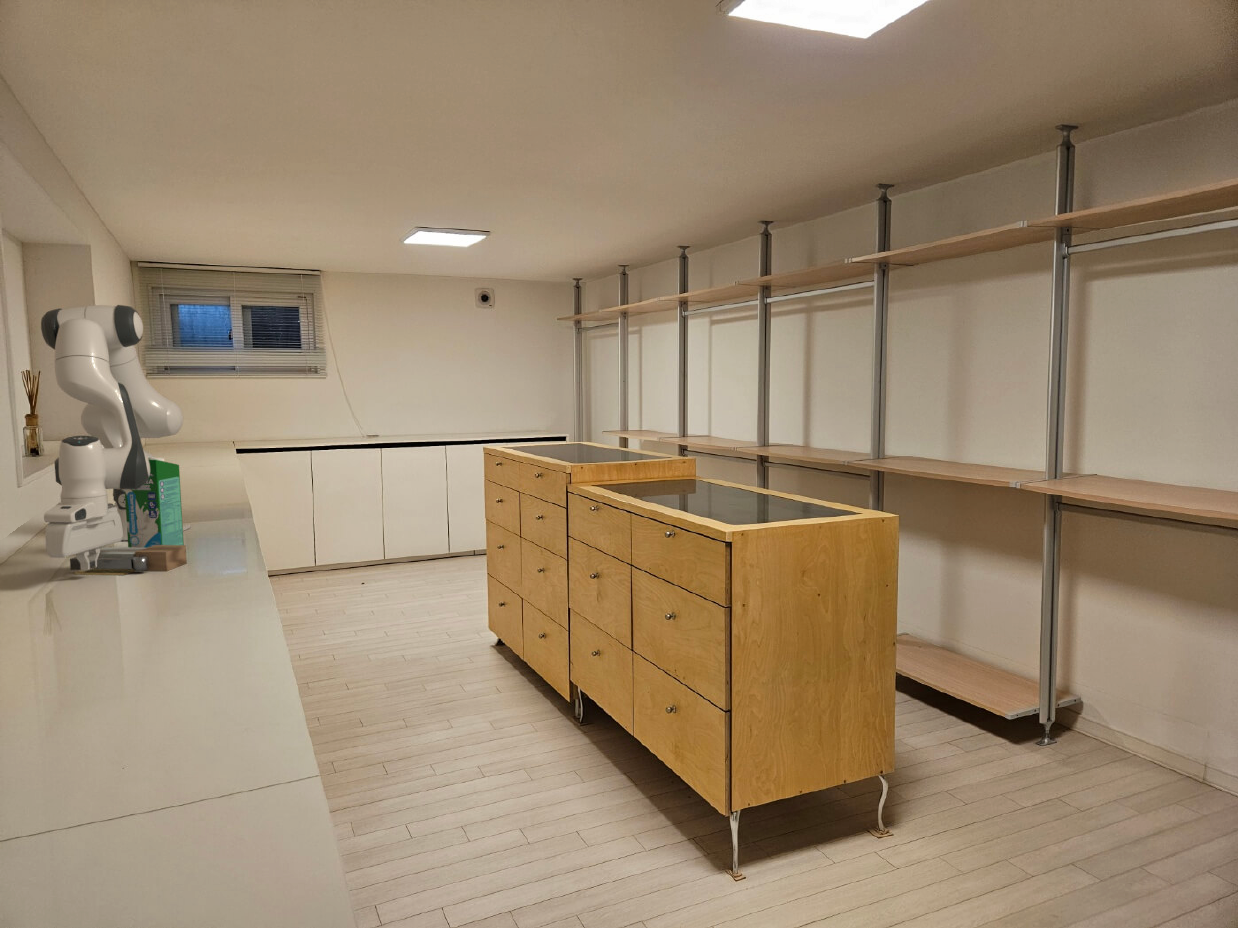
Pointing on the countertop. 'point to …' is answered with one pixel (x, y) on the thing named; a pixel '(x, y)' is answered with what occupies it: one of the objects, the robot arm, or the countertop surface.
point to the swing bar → (116, 563)
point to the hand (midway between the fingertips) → (89, 569)
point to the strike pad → (105, 572)
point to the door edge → (151, 555)
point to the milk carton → (155, 508)
